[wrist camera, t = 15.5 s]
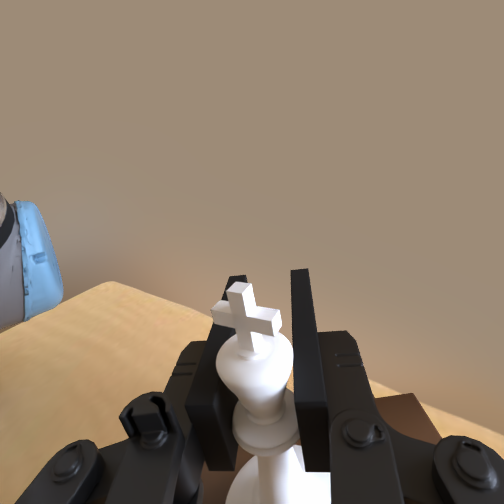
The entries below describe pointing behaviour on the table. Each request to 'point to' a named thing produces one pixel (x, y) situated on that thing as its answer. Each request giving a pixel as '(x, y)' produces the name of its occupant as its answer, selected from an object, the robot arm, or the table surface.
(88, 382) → the table surface
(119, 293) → the table surface
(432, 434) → the step shelf
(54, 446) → the table surface
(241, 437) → the chess piece
